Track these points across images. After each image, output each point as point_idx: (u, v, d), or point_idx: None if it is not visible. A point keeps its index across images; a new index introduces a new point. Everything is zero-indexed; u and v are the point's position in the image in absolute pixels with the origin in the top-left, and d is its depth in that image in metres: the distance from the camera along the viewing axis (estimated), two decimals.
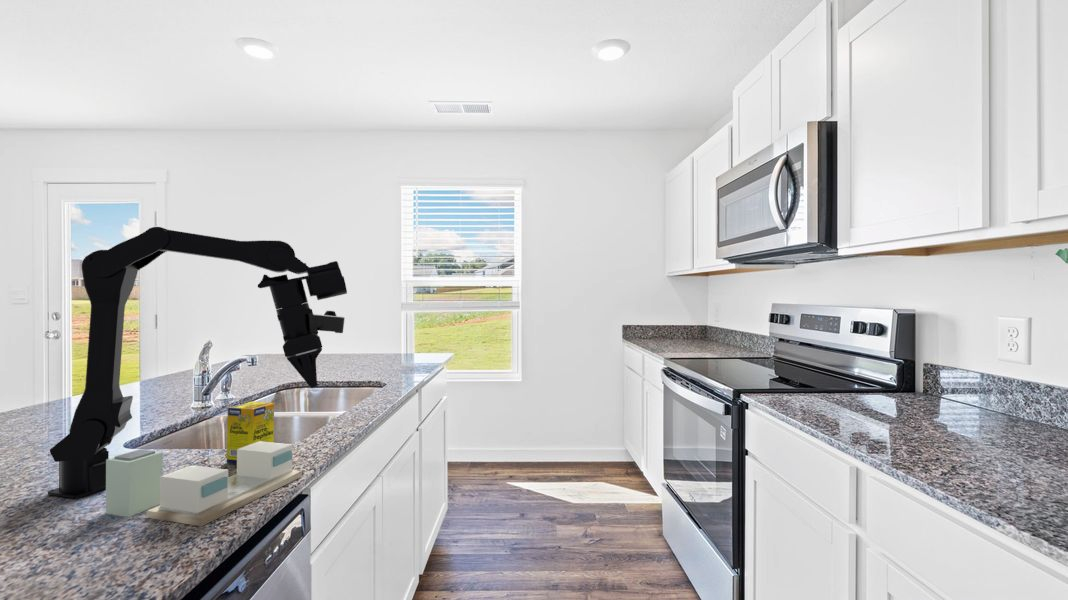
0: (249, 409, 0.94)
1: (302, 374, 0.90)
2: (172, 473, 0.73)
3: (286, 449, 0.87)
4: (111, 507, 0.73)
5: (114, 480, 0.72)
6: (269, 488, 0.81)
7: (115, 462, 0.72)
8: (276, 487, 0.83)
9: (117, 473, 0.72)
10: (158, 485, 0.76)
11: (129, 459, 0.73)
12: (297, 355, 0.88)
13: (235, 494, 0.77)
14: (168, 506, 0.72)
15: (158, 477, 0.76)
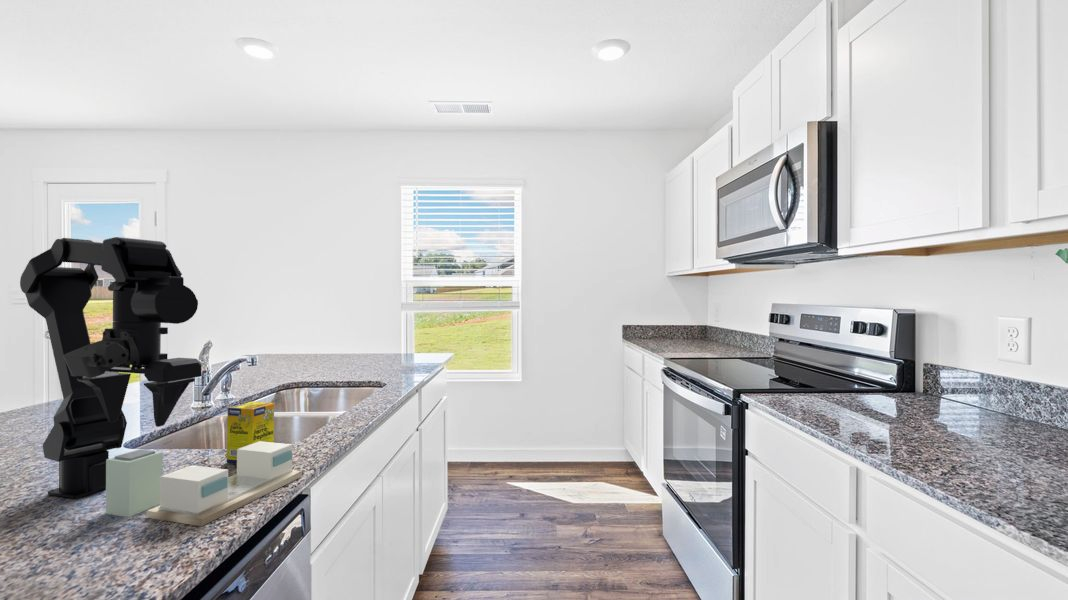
0: (249, 409, 0.94)
1: None
2: (172, 473, 0.73)
3: (286, 449, 0.87)
4: (111, 507, 0.73)
5: (114, 480, 0.72)
6: (269, 488, 0.81)
7: (115, 462, 0.72)
8: (276, 487, 0.83)
9: (117, 473, 0.72)
10: (158, 485, 0.76)
11: (129, 459, 0.73)
12: None
13: (235, 494, 0.77)
14: (168, 506, 0.72)
15: (158, 477, 0.76)
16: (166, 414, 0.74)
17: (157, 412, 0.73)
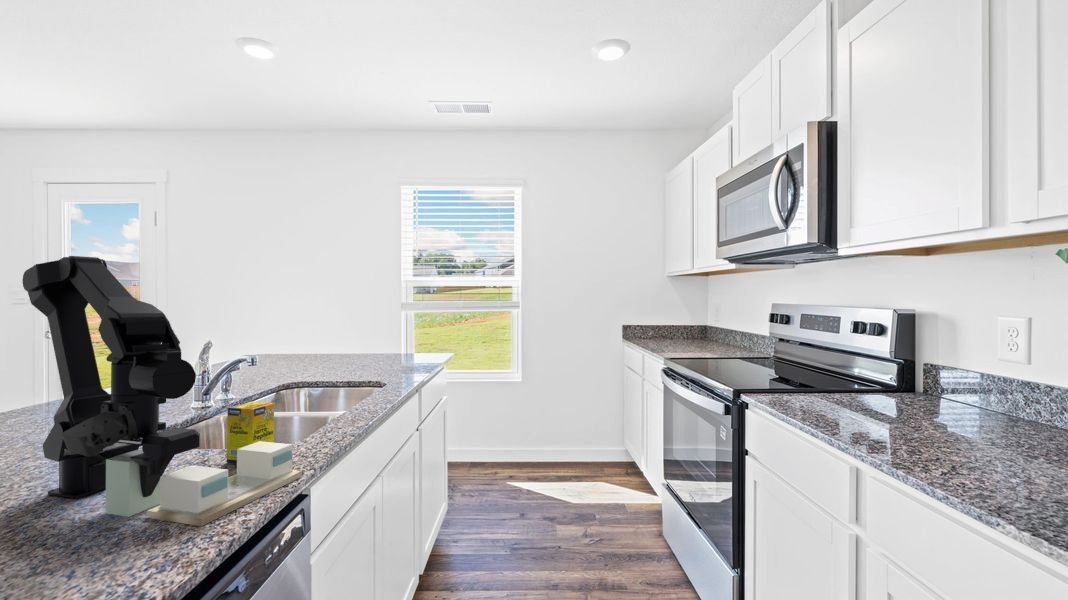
0: (249, 409, 0.94)
1: None
2: (172, 473, 0.73)
3: (286, 449, 0.87)
4: (111, 507, 0.73)
5: (114, 480, 0.72)
6: (269, 488, 0.81)
7: (115, 462, 0.72)
8: (276, 487, 0.83)
9: (117, 473, 0.72)
10: (158, 485, 0.76)
11: (129, 459, 0.73)
12: None
13: (235, 494, 0.77)
14: (168, 506, 0.72)
15: None
16: (153, 484, 0.74)
17: (144, 484, 0.73)
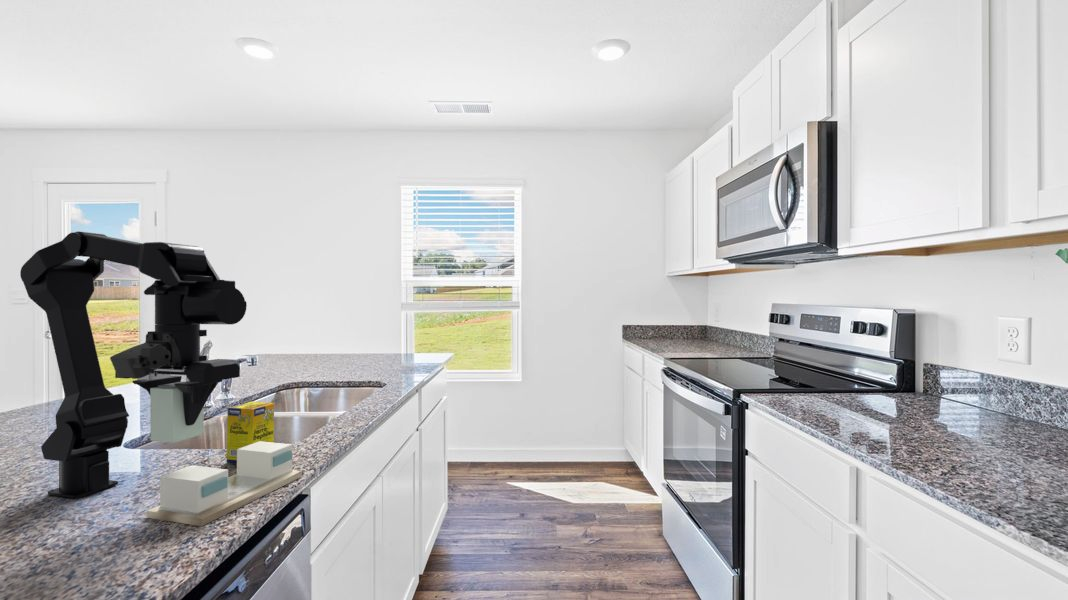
0: (249, 409, 0.94)
1: None
2: (172, 473, 0.73)
3: (286, 449, 0.87)
4: (156, 434, 0.74)
5: (158, 407, 0.74)
6: (269, 488, 0.81)
7: (159, 390, 0.74)
8: (276, 487, 0.83)
9: (161, 401, 0.74)
10: (199, 415, 0.78)
11: (172, 387, 0.75)
12: None
13: (235, 494, 0.77)
14: (168, 506, 0.72)
15: None
16: (196, 413, 0.76)
17: (187, 412, 0.75)
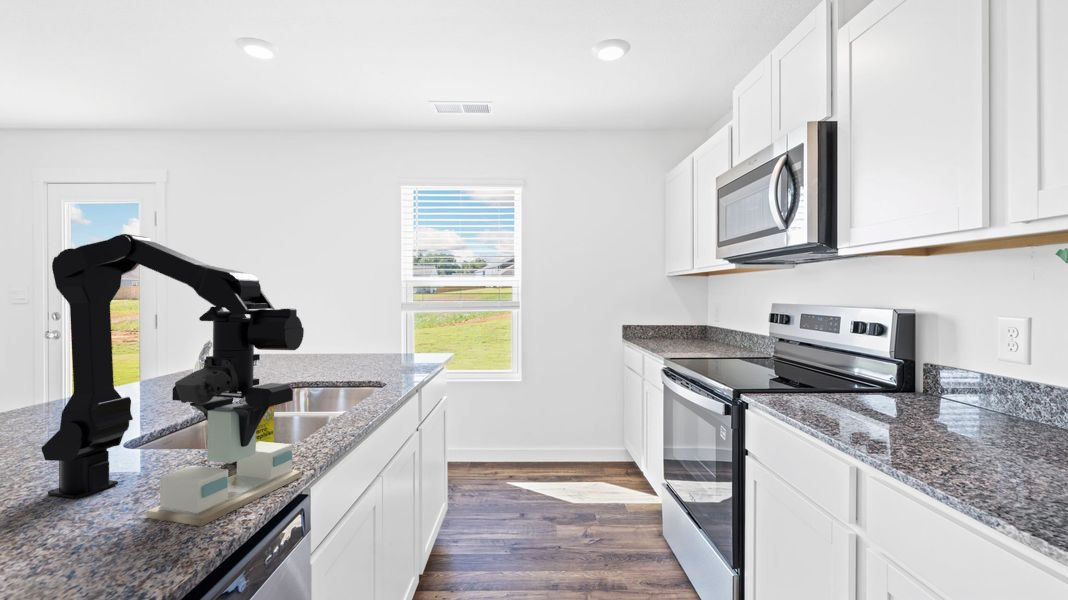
0: None
1: None
2: (172, 473, 0.73)
3: (286, 449, 0.87)
4: (213, 455, 0.78)
5: (216, 429, 0.78)
6: (269, 488, 0.81)
7: (216, 413, 0.78)
8: (276, 487, 0.83)
9: (218, 423, 0.78)
10: None
11: (229, 410, 0.78)
12: None
13: (235, 494, 0.77)
14: (168, 506, 0.72)
15: None
16: (250, 435, 0.80)
17: (243, 434, 0.78)
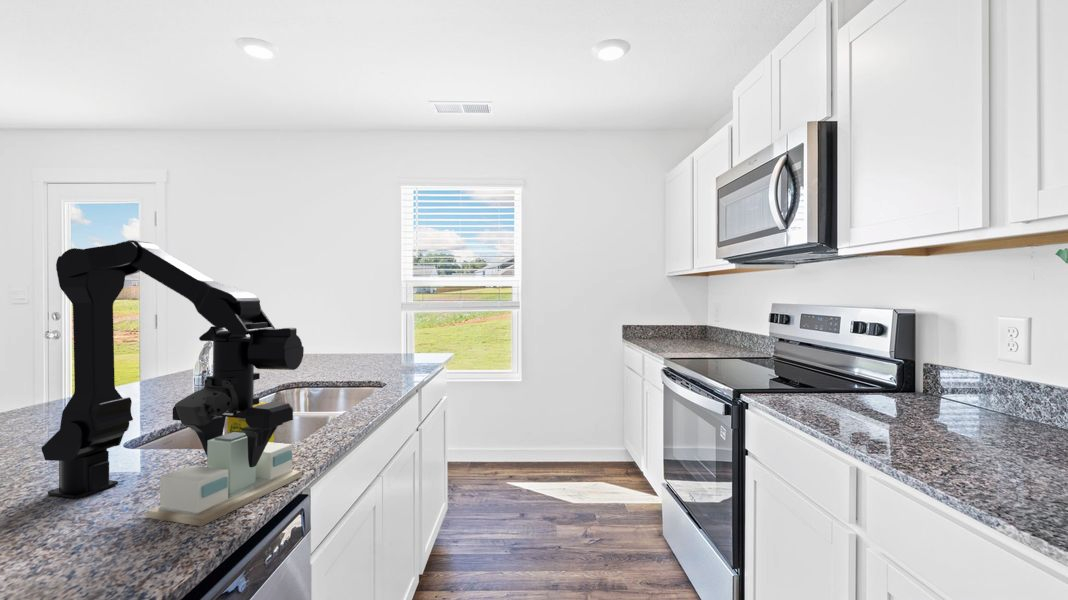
0: None
1: None
2: (172, 473, 0.73)
3: (286, 449, 0.87)
4: None
5: (215, 459, 0.78)
6: (269, 488, 0.81)
7: (216, 443, 0.78)
8: (276, 487, 0.83)
9: (218, 453, 0.78)
10: None
11: (229, 440, 0.78)
12: None
13: (235, 494, 0.77)
14: (168, 506, 0.72)
15: None
16: (258, 455, 0.79)
17: (251, 454, 0.78)
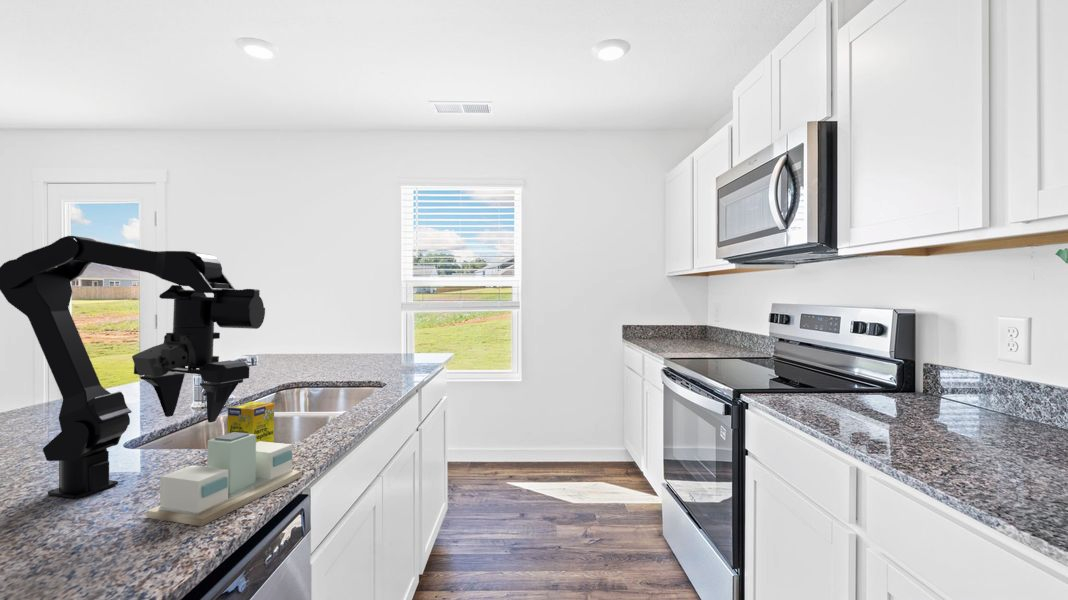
0: (249, 409, 0.94)
1: None
2: (172, 473, 0.73)
3: (286, 449, 0.87)
4: None
5: (215, 459, 0.78)
6: (269, 488, 0.81)
7: (216, 443, 0.78)
8: (276, 487, 0.83)
9: (218, 453, 0.78)
10: (252, 465, 0.81)
11: (229, 440, 0.78)
12: None
13: (235, 494, 0.77)
14: (168, 506, 0.72)
15: (252, 458, 0.81)
16: (217, 411, 0.82)
17: (210, 410, 0.81)
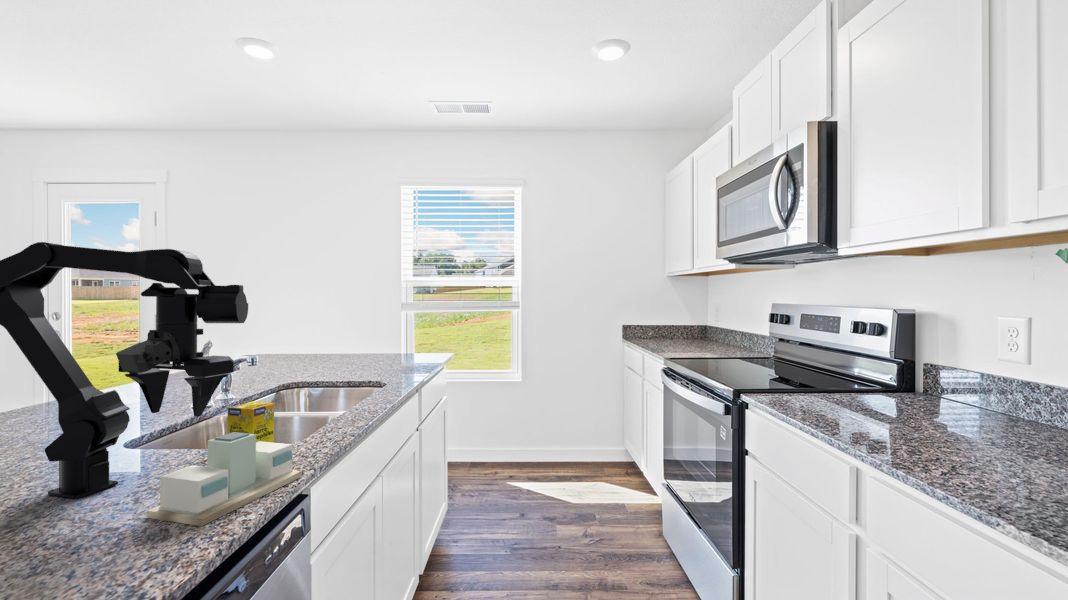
0: (249, 409, 0.94)
1: None
2: (172, 473, 0.73)
3: (286, 449, 0.87)
4: None
5: (215, 459, 0.78)
6: (269, 488, 0.81)
7: (216, 443, 0.78)
8: (276, 487, 0.83)
9: (218, 453, 0.78)
10: (252, 465, 0.81)
11: (229, 440, 0.78)
12: None
13: (235, 494, 0.77)
14: (168, 506, 0.72)
15: (252, 458, 0.81)
16: (203, 406, 0.83)
17: (195, 404, 0.82)
